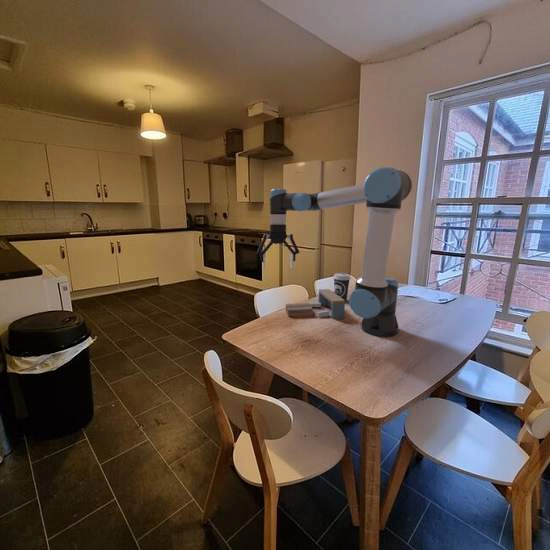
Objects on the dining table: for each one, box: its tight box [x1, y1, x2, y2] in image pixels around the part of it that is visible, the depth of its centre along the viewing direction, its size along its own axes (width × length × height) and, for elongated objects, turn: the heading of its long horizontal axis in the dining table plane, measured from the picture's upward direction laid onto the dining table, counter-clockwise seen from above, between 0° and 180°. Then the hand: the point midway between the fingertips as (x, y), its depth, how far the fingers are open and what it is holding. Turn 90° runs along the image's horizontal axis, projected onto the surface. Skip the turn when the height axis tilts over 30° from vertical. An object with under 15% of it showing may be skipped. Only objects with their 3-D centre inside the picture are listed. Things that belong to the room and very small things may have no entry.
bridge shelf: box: [308, 288, 346, 319], centre depth 148 cm, size 20×12×9 cm, turn 11°
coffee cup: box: [333, 272, 352, 302], centre depth 165 cm, size 10×10×15 cm
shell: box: [285, 302, 314, 317], centre depth 146 cm, size 9×12×4 cm
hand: (277, 268), depth 140 cm, fingers open, 13 cm apart
